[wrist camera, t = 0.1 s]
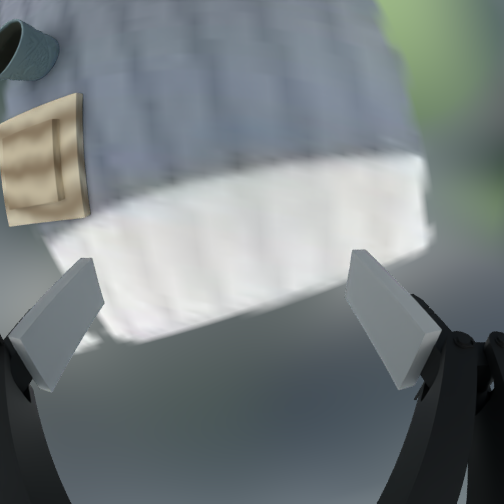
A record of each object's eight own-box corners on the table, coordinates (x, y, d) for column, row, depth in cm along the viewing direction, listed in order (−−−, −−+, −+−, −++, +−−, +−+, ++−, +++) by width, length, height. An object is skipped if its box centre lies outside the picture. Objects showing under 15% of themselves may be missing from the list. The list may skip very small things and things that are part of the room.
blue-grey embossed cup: (34, 37, 24) (-5, 26, 13) (71, 31, 26) (32, 12, 15) (18, 86, 28) (-25, 84, 17) (53, 84, 29) (8, 77, 18)
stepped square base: (5, 124, 30) (-8, 125, 26) (82, 94, 31) (69, 91, 27) (15, 223, 38) (3, 230, 34) (90, 214, 39) (78, 221, 35)
